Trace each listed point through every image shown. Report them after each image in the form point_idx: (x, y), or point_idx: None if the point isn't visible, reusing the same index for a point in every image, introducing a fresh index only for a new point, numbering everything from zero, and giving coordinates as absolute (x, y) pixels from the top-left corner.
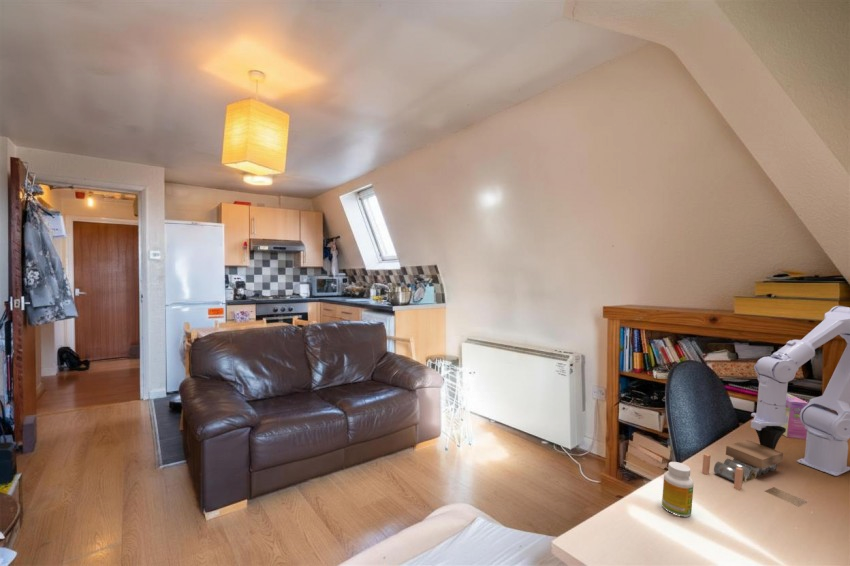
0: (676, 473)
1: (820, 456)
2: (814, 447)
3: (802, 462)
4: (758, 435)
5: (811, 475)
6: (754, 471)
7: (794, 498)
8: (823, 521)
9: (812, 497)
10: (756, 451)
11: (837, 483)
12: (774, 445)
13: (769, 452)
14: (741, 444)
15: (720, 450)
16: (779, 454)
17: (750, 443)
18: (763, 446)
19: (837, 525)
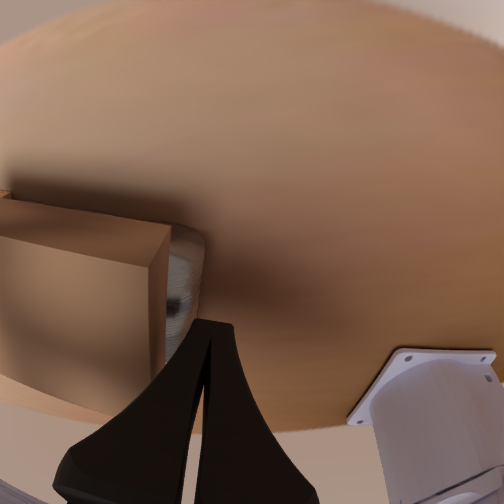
0: None
1: (382, 439)
2: (400, 455)
3: (390, 366)
4: (134, 401)
5: (287, 391)
6: None
7: None
8: (17, 393)
9: None
10: (12, 343)
11: (287, 426)
12: (203, 414)
13: (75, 388)
14: (4, 265)
15: (198, 40)
16: (116, 414)
17: (87, 305)
18: (132, 368)
19: (31, 407)
